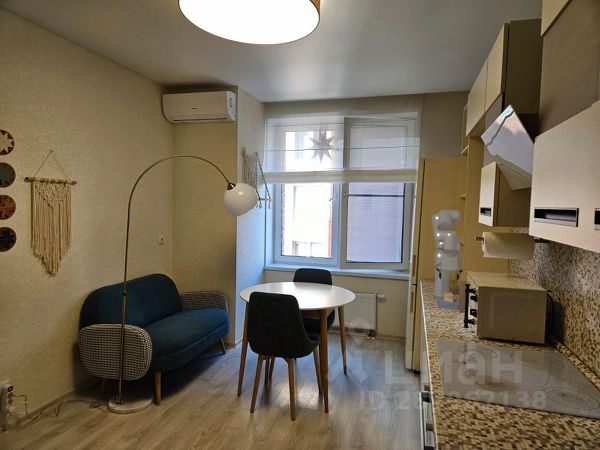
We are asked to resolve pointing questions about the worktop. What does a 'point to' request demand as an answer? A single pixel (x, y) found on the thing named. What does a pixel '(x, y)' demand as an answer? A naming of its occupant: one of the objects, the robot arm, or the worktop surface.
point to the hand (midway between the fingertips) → (448, 279)
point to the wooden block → (462, 296)
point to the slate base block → (448, 304)
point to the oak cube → (448, 296)
